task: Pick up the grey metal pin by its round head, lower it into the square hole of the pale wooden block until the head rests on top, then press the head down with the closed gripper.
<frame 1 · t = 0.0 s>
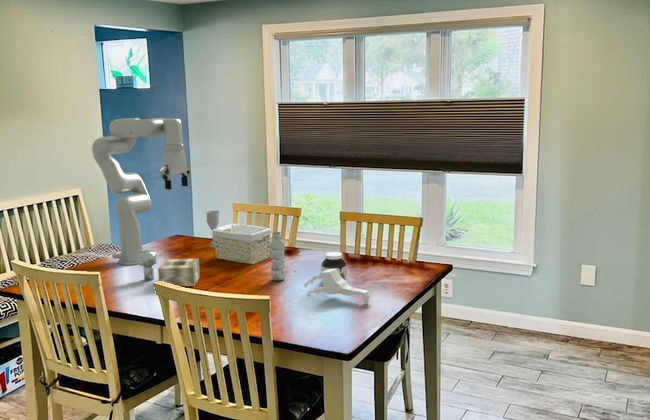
hand: (176, 187, 264), 37 cm above the table, tool pointing down, fingers open, 9 cm apart
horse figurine: (337, 299, 230), on the table
storage basket: (243, 259, 289), on the table
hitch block: (180, 282, 255), on the table
pin: (149, 279, 259), on the table
plastic bottle: (278, 280, 254), on the table
spread jar: (334, 280, 252), on the table
chalice: (214, 246, 314), on the table
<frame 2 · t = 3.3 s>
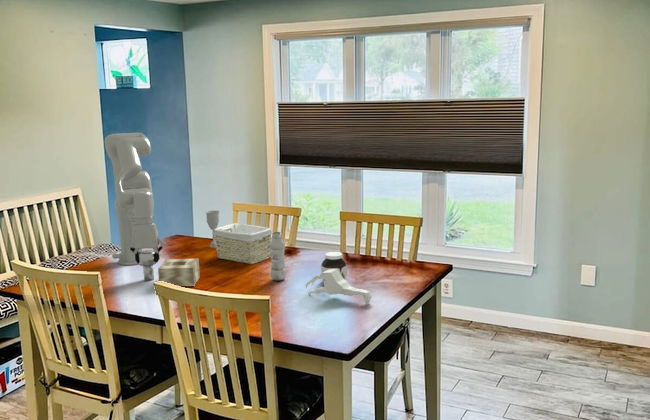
hand: (147, 261, 258), 8 cm above the table, tool pointing down, fingers closed on pin, 7 cm apart
pin: (149, 279, 259), on the table, touching gripper
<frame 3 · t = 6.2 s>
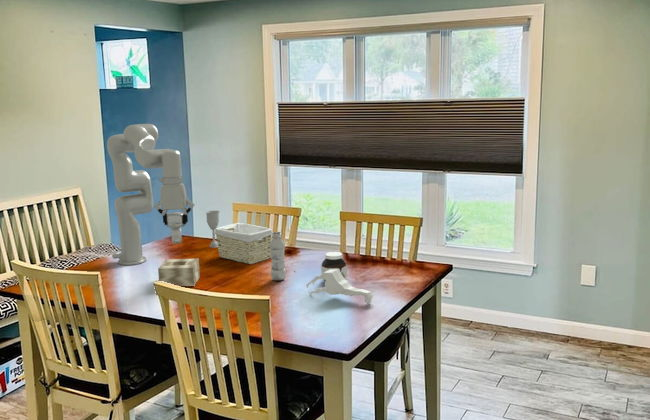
hand: (175, 223, 250), 25 cm above the table, tool pointing down, fingers closed on pin, 7 cm apart
pin: (177, 242, 252), point 17 cm above the table, touching gripper
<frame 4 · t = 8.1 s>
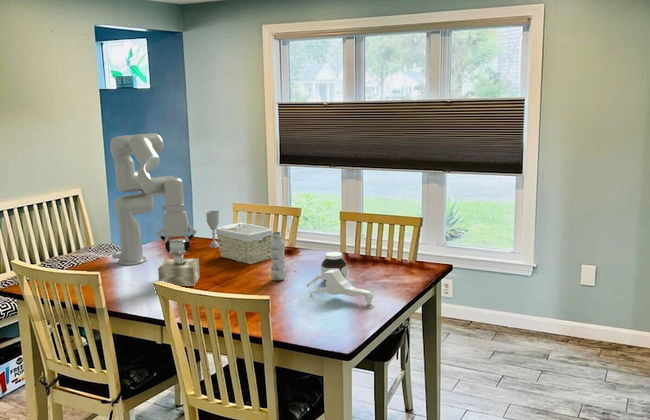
hand: (178, 250, 252), 14 cm above the table, tool pointing down, fingers closed on pin, 7 cm apart
pin: (179, 268, 254), point 6 cm above the table, touching gripper
when the fingers open (9 cm above the table, at t = 9.6 s): pin stays where it is, resting on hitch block.
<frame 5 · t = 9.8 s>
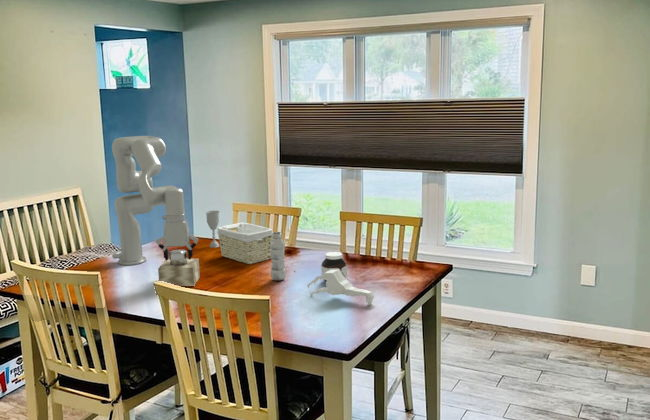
hand: (178, 259, 253), 10 cm above the table, tool pointing down, fingers open, 9 cm apart
pin: (179, 279, 255), point 1 cm above the table, touching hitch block
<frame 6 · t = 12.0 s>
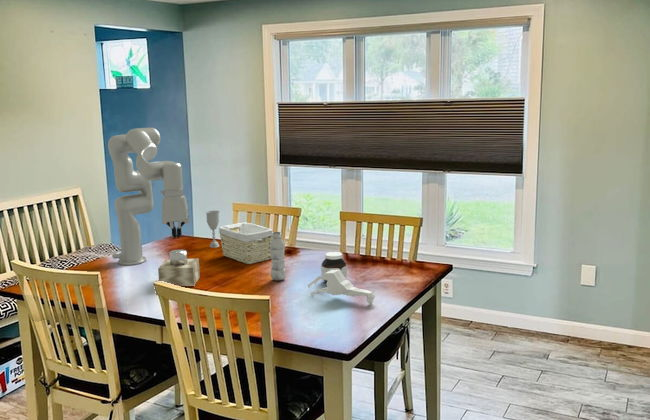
hand: (177, 237, 251), 19 cm above the table, tool pointing down, fingers closed
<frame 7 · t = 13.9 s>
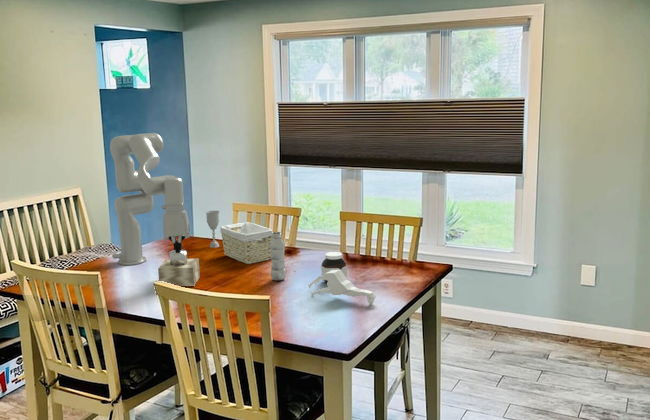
hand: (178, 251, 252), 13 cm above the table, tool pointing down, fingers closed
pin: (179, 279, 255), point 1 cm above the table, touching gripper, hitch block
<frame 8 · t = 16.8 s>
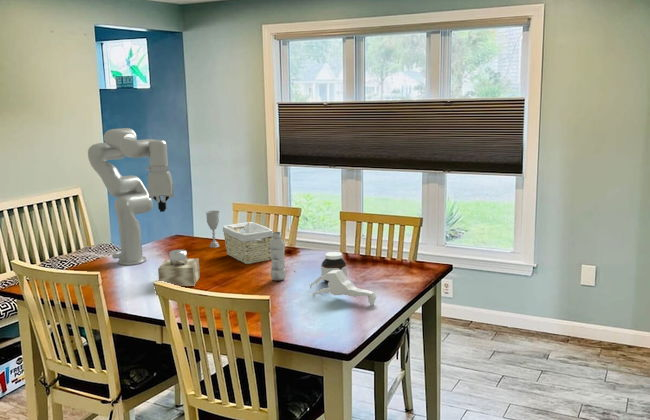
hand: (162, 211, 266), 27 cm above the table, tool pointing down, fingers closed
pin: (179, 279, 255), point 1 cm above the table, touching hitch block
at the end: pin 0.1 cm off-centre on the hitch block, point 1.0 cm above the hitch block's base; pin tilted 0°; the gripper is holding nothing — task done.
